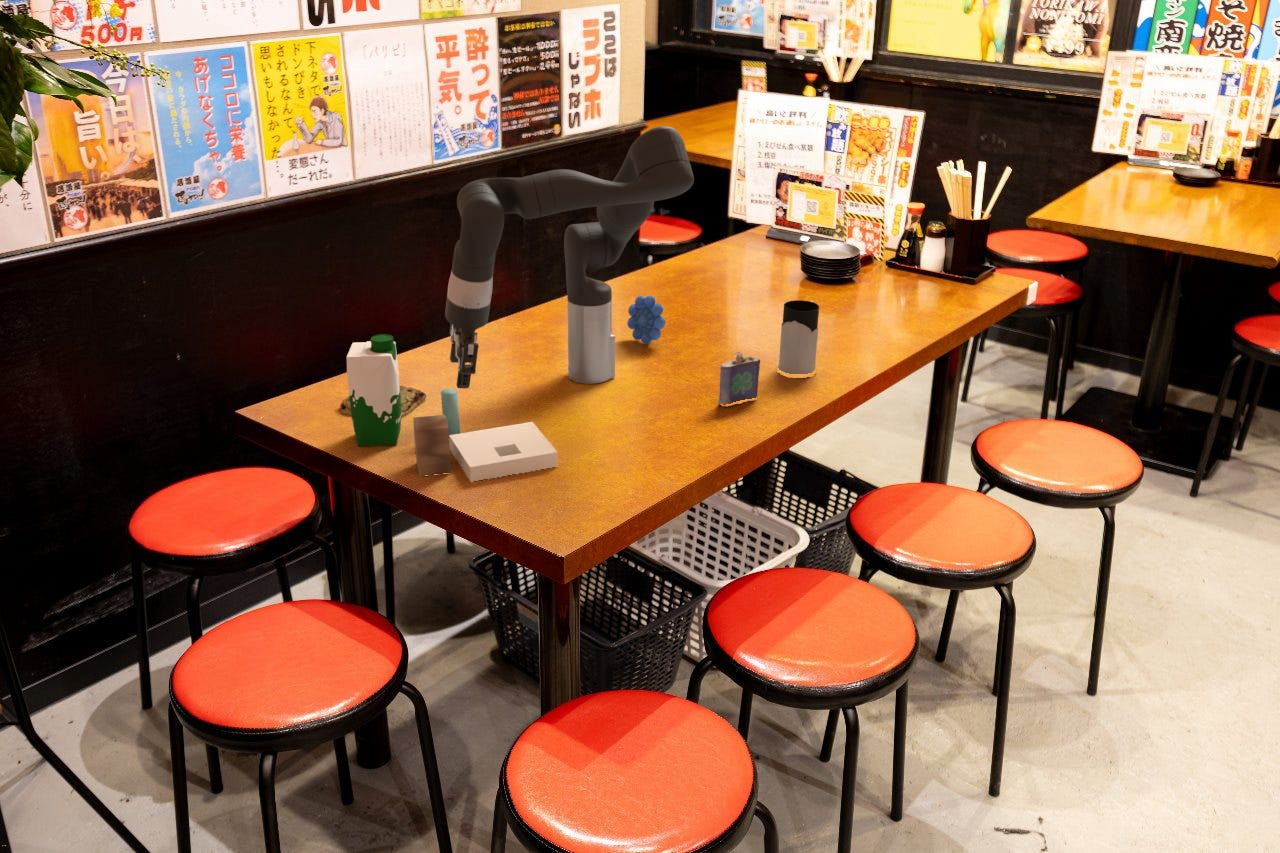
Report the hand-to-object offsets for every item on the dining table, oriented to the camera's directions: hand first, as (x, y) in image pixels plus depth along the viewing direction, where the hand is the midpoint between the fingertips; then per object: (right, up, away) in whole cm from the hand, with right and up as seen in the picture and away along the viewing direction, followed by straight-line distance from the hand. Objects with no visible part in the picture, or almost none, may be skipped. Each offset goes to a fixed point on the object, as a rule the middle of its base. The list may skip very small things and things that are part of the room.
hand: (459, 374), depth 203 cm
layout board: (+8, -15, +1) cm, 17 cm away
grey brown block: (-4, -17, -3) cm, 18 cm away
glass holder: (+68, +3, +44) cm, 81 cm away
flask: (+53, -5, +26) cm, 59 cm away
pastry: (-19, -6, +22) cm, 30 cm away
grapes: (+35, +10, +56) cm, 67 cm away
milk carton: (-16, -12, +8) cm, 22 cm away
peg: (-3, -11, +9) cm, 15 cm away
